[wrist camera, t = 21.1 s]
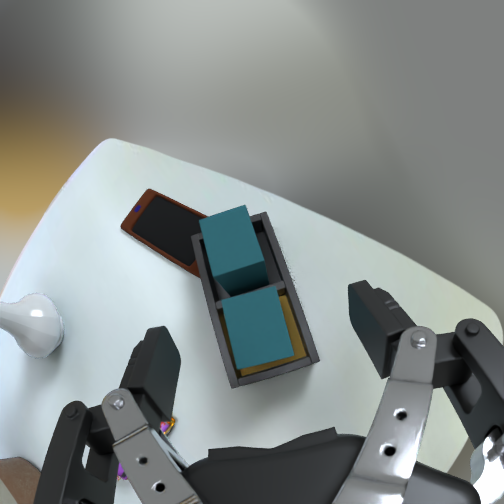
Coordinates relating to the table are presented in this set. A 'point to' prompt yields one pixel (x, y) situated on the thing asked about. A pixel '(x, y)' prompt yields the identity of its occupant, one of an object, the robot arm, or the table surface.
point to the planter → (17, 481)
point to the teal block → (257, 328)
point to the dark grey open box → (277, 277)
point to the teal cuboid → (234, 251)
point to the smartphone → (165, 228)
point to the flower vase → (33, 324)
